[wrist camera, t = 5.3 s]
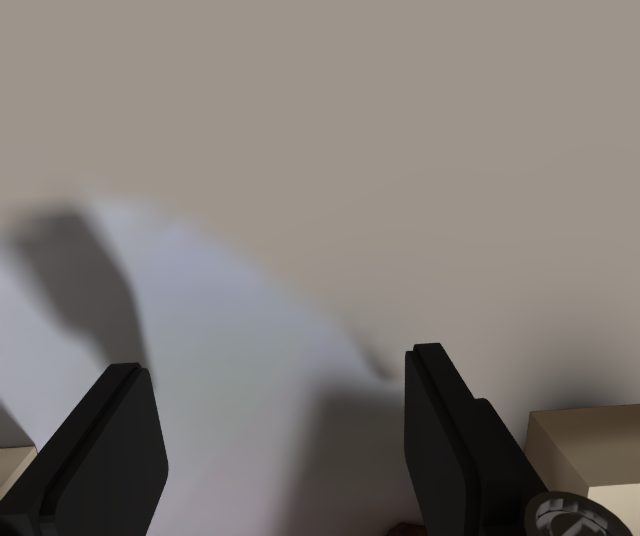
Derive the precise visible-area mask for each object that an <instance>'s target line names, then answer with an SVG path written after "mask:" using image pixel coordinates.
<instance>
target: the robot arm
mask: <svg viewBox="0 0 640 536" xmlns="http://www.w3.org/2000/svg"><path fill="white" fill-rule="evenodd" d="M404 451H405V459H406V463H407V467H408V470H409V473H410V477H411V480H412V483H413V487H414V490H415V493H416V497H417V500H418V503H419V506H420V510H421V513H422V516H423V520H424V523H425V526H426V530H427V533H428V536H633V534H632V533H631V531H630V529H629V528H628V527H627V526H626V525H625V524H624V523H623V522H622V521H621V520H620V519H619V518H618V516H616V515H615V514H614V513H612V512H611V511H609V510H608V509H607V508H605V507H604V506H603V505H601V504H599V503H597V502H595V501H593V500H591V499H589V498H587V497H584V496H581V495H577V494H574V493H570V492H562V491H550V492H549V490H548V489H547V487H546V486H545V484H544V483H543V481H542V480H541V478H540V477H539V475H538V474H537V472H536V471H535V469H534V468H533V466H532V465H531V463H530V462H529V460H528V459H527V457H526V456H525V454H524V453H523V452H522V450H521V448H520V447H519V445H518V444H517V442H516V441H515V439H514V438H513V436H512V435H511V433H510V432H509V430H508V429H507V427H506V426H505V424H504V423H503V421H502V420H501V418H500V417H499V415H498V414H497V412H496V411H495V409H494V408H493V406H492V405H491V404H490V402H489V401H488V400H487V399H484V398H478V399H475V398H474V397H473V395H472V394H471V392H470V390H469V389H468V387H467V386H466V384H465V382H464V381H463V379H462V378H461V376H460V374H459V373H458V371H457V369H456V368H455V366H454V365H453V363H452V361H451V360H450V358H449V357H448V355H447V353H446V352H445V350H444V349H443V347H442V346H441V344H440V343H428V344H427V343H426V344H415V345H414V347H413V351H406V354H405V418H404ZM167 477H168V459H167V455H166V450H165V445H164V440H163V435H162V431H161V426H160V421H159V416H158V411H157V406H156V402H155V397H154V392H153V387H152V382H151V378H150V373H149V371H148V369H146V368H143V369H142V368H141V366H140V364H139V363H121V364H111V365H110V366H108V367H107V369H106V370H105V371H104V372H103V374H102V375H101V376H100V377H99V379H98V380H97V381H96V382H95V384H94V385H93V386H92V387H91V389H90V390H89V391H88V392H87V394H86V395H85V396H84V397H83V398H82V400H81V401H80V402H79V403H78V405H77V406H76V407H75V408H74V410H73V411H72V412H71V413H70V415H69V416H68V417H67V418H66V420H65V421H64V422H63V423H62V425H61V426H60V427H59V428H58V430H57V431H56V432H55V433H54V435H53V436H52V437H51V438H50V440H49V441H48V442H47V443H46V444H45V446H44V447H43V448H42V449H41V451H40V452H39V453H38V454H37V456H36V457H35V458H34V459H33V461H32V462H31V463H30V464H29V466H28V467H27V468H26V469H25V471H24V472H23V473H22V474H21V476H20V477H19V478H18V479H17V481H16V482H15V483H14V484H13V485H12V487H11V488H10V489H9V490H8V492H7V493H6V494H5V495H4V497H3V498H2V499H1V500H0V536H146V533H147V531H148V528H149V525H150V523H151V520H152V518H153V515H154V512H155V510H156V507H157V505H158V502H159V499H160V497H161V494H162V492H163V489H164V486H165V484H166V481H167Z"/></svg>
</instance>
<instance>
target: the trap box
mask: <svg viewBox="0 0 640 536" xmlns="http://www.w3.org/2000/svg"><path fill="white" fill-rule="evenodd" d="M36 456H37V451H36V448H35V446H34V447H20V448H5V449H0V500H1V499H2V498H3V497H4V495H5V494H6V493H7V492H8V490H9V489H10V488H11V487H12V485H13V484H14V483H15V482H16V481H17V479H18V478H19V477H20V476H21V474H22V473H23V472H24V471H25V469H26V468H27V467H28V466H29V464H30V463H31V462H32V461H33V459H34V458H35V457H36ZM525 456H526V457H527V459H528V460H529V462H530V463H531V465H532V466H533V468H534V469H535V471H536V472H537V474H538V475H539V477H540V478H541V480H542V481H543V483H544V484H545V486H546V487H547V489H548V490H549V492H550V491H562V492H570V493H574V494H577V495H581V496H584V497H587V498H589V499H591V500H593V501H595V502H597V503H599V504H601V505H603V506H604V507H605V508H607V509H608V510H609V511H611V512H612V513H614V514H615V515H616V516H618V518H619V519H620V520H621V521H622V522H623V523H624V524H625V525H626V526H627V527H628V528H629V529H630V531H631V533H632V534H633V536H640V404H633V405H621V406H606V407H591V408H577V409H562V410H547V411H533V412H530V415H529V424H528V431H527V440H526V448H525Z"/></svg>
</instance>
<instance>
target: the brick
mask: <svg viewBox="0 0 640 536" xmlns="http://www.w3.org/2000/svg"><path fill="white" fill-rule="evenodd" d="M386 536H428V533H427V530H426V528H425V527H420V526H414V525H409V524H403V523H400V524H398V525H397V526H395V527H394V528H393V529H391V530H390V531H389V532H388V533H387V534H386Z"/></svg>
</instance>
